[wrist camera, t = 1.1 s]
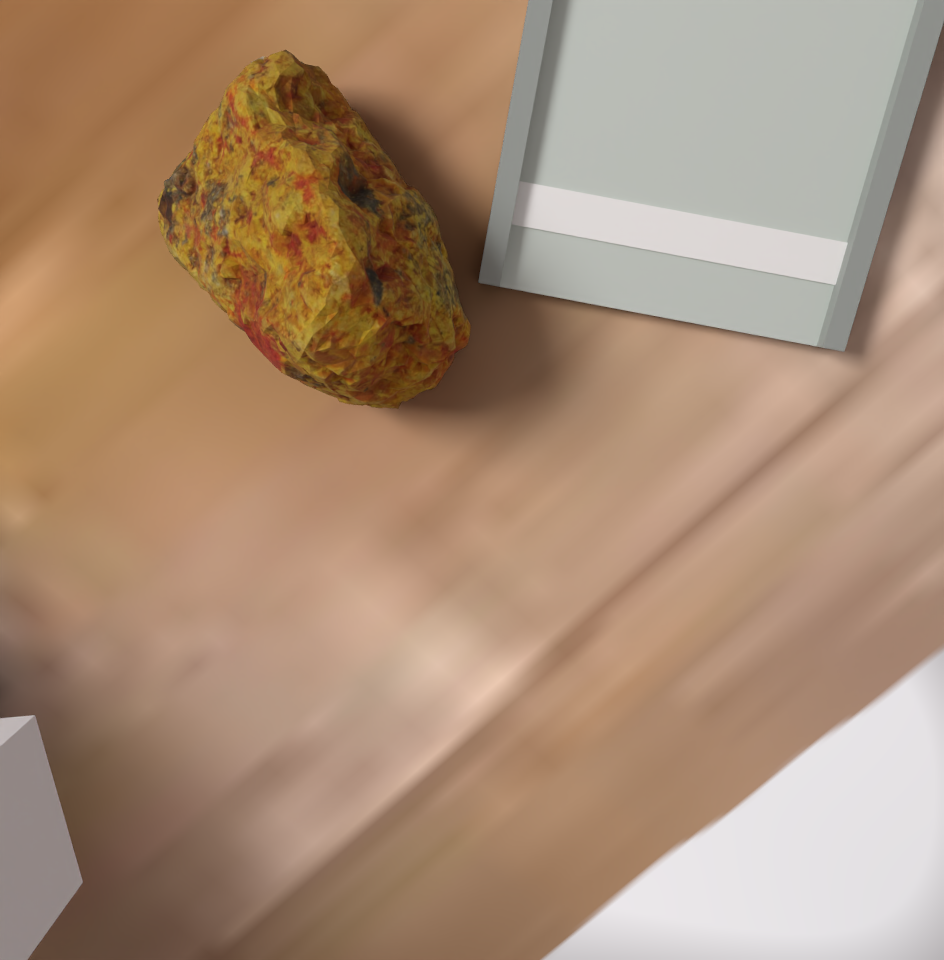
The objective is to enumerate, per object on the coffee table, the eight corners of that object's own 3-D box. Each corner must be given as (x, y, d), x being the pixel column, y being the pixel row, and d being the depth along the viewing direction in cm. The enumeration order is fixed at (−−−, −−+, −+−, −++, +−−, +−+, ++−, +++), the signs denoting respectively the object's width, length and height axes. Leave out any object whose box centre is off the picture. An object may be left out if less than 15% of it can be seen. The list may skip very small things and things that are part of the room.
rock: (275, 335, 34) (79, 184, 26) (400, 195, 34) (240, -3, 26) (406, 478, 28) (198, 334, 20) (563, 306, 27) (416, 87, 19)
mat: (479, 282, 29) (478, 282, 28) (581, -284, 25) (584, -312, 24) (830, 349, 29) (844, 351, 28) (995, -206, 25) (1019, -231, 24)
